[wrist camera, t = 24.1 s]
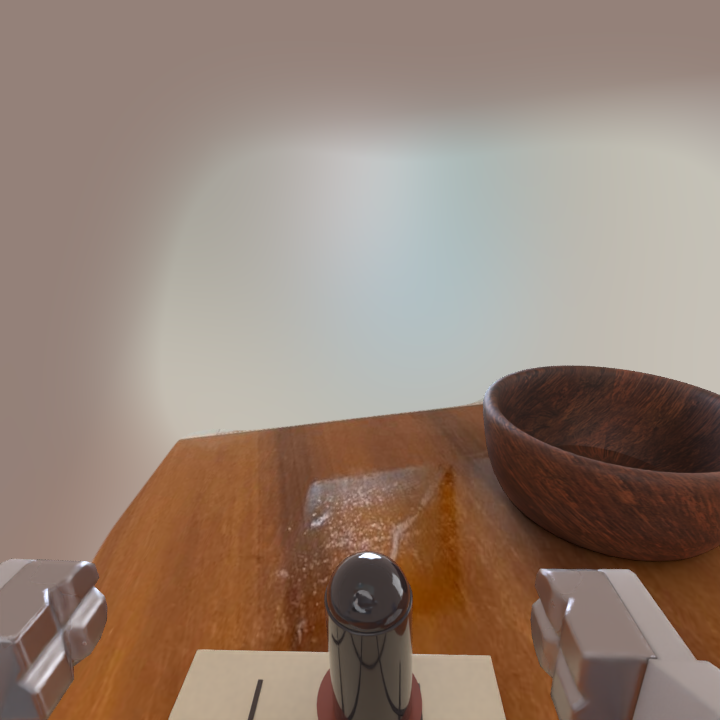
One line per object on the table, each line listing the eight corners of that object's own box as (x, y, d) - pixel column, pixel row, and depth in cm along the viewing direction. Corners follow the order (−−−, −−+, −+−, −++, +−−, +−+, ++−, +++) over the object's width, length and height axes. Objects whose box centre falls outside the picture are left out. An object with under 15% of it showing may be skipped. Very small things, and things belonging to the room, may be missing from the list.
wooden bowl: (540, 418, 63) (547, 351, 59) (771, 492, 45) (800, 403, 42) (433, 494, 47) (435, 409, 44) (725, 654, 29) (766, 531, 26)
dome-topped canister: (328, 745, 24) (315, 601, 21) (337, 660, 29) (327, 531, 25) (414, 748, 24) (416, 603, 20) (409, 662, 28) (410, 531, 25)
